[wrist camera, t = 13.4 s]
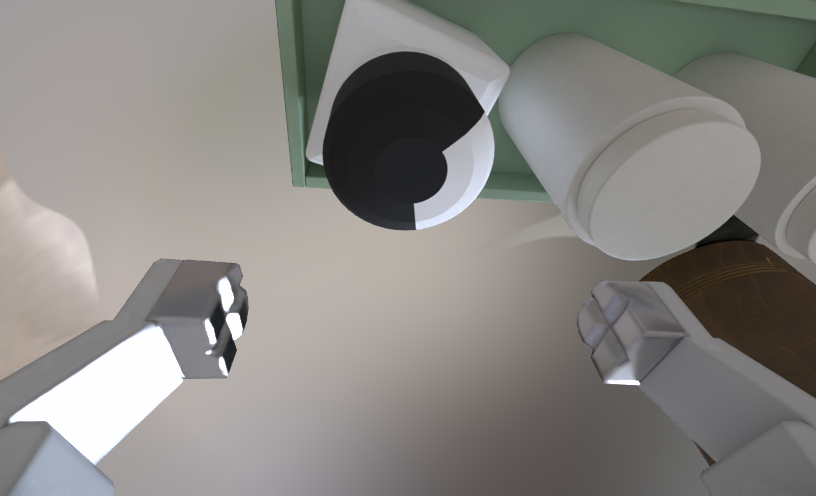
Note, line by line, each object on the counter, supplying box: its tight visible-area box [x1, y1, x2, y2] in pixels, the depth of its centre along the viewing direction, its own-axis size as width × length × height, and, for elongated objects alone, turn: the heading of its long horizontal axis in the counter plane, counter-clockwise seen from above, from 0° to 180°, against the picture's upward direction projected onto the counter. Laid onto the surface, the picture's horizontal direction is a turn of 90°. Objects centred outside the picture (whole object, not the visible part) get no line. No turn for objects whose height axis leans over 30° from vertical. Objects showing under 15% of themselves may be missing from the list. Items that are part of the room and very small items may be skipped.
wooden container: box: [638, 241, 816, 466], centre depth 29 cm, size 15×15×22 cm
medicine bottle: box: [306, 0, 510, 230], centre depth 17 cm, size 7×7×12 cm
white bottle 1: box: [498, 32, 761, 260], centre depth 18 cm, size 7×7×12 cm
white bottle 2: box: [672, 52, 816, 264], centre depth 20 cm, size 7×7×12 cm
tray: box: [275, 0, 816, 203], centre depth 22 cm, size 32×13×3 cm, turn 83°
